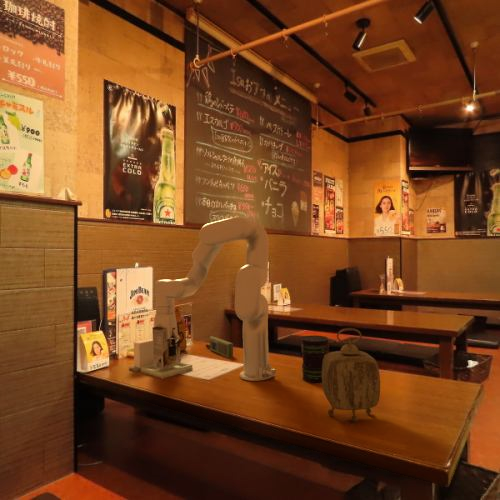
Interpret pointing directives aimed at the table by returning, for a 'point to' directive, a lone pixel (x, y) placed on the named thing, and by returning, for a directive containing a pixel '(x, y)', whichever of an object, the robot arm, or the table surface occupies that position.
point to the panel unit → (142, 354)
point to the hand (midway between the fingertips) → (166, 354)
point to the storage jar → (313, 357)
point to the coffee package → (181, 329)
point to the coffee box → (164, 349)
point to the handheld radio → (221, 347)
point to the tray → (166, 370)
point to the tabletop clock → (350, 378)
